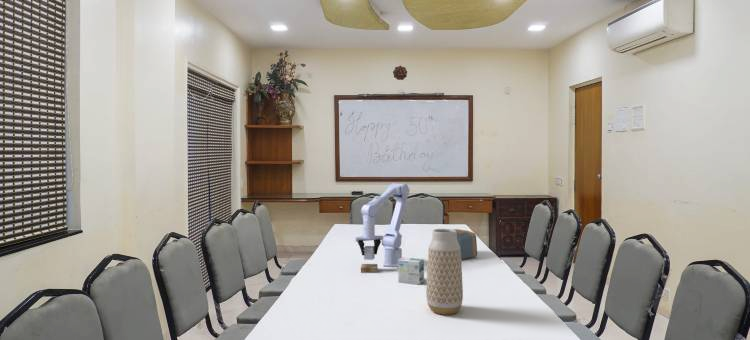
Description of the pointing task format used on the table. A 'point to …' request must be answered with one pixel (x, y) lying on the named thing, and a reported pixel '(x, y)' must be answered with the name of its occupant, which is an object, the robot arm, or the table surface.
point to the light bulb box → (411, 270)
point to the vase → (444, 273)
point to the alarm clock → (467, 244)
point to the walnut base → (369, 268)
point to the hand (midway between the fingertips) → (369, 254)
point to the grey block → (369, 252)
